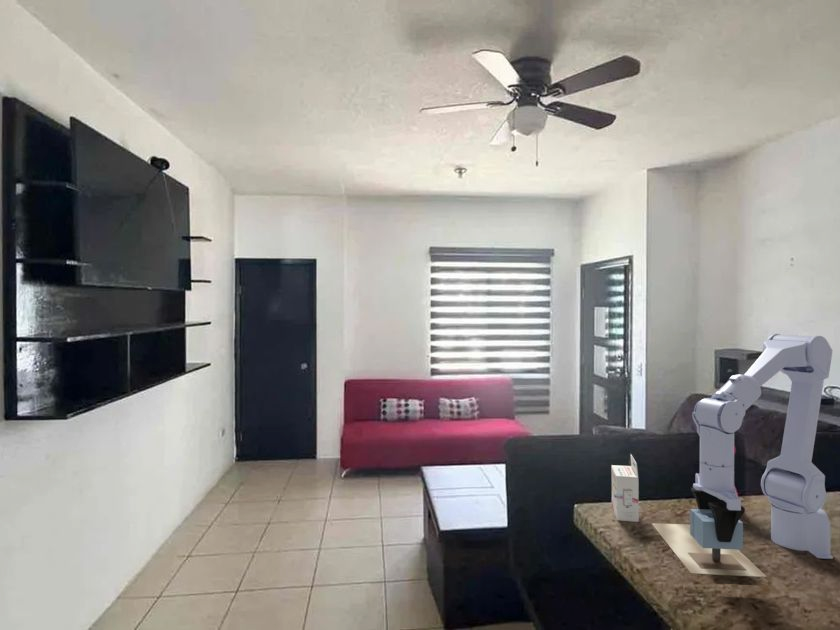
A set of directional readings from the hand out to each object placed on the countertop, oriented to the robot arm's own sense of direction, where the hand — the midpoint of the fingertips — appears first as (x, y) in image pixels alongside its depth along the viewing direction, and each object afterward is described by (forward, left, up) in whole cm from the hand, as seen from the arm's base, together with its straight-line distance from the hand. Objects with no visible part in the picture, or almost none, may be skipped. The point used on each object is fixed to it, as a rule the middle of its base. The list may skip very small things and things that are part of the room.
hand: (716, 533), depth 100 cm
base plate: (0, -6, -7) cm, 9 cm away
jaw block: (0, 0, -2) cm, 2 cm away
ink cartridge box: (+11, -22, -7) cm, 26 cm away
